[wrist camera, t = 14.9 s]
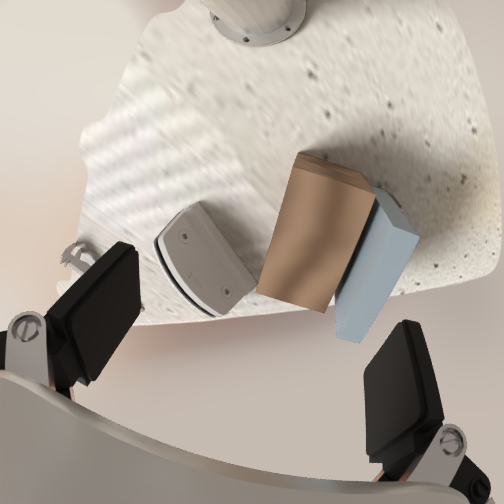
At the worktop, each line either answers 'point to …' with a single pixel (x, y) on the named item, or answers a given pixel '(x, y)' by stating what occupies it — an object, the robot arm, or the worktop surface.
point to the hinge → (201, 263)
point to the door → (373, 267)
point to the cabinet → (315, 232)
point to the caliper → (76, 261)
